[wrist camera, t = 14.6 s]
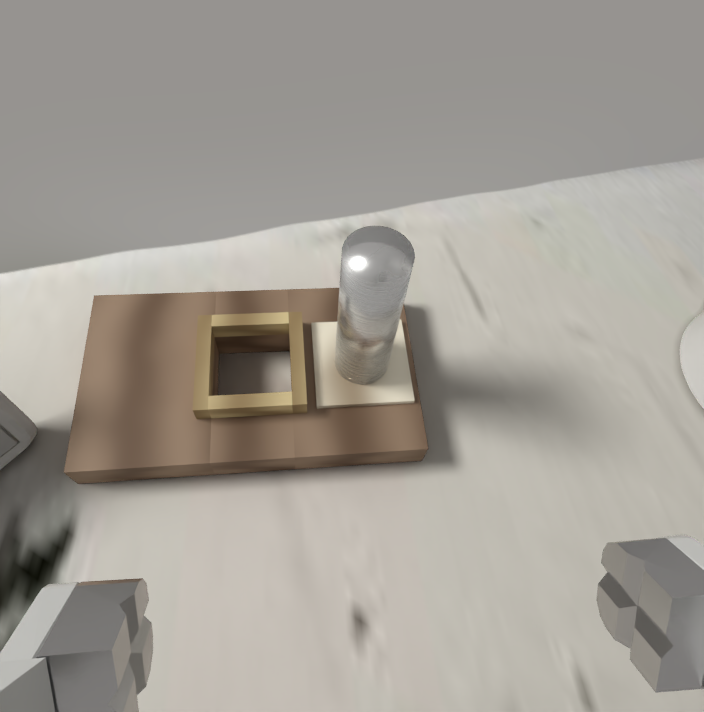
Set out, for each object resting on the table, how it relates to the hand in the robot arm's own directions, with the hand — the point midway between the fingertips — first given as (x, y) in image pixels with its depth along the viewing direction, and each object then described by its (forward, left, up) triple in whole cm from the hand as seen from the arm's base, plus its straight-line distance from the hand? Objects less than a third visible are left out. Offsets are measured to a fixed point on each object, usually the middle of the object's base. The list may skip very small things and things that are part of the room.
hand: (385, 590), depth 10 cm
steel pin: (-4, -18, -25) cm, 31 cm away
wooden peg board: (+4, -18, -27) cm, 33 cm away
